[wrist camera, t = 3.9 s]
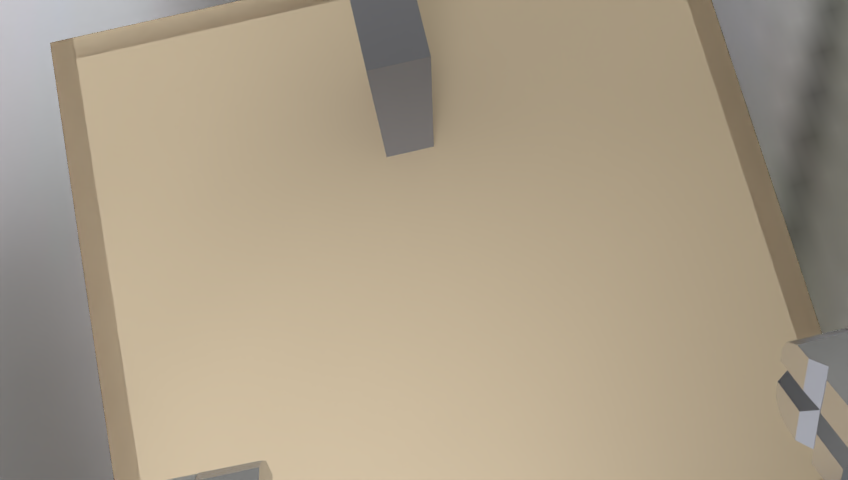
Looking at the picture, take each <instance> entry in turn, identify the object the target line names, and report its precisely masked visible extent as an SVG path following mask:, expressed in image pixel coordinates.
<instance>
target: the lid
mask: <svg viewBox="0 0 848 480" xmlns="http://www.w3.org/2000/svg"><path fill="white" fill-rule="evenodd" d="M50 45H51V52H52V59H53V66H54V73H55V79H56V86H57V93H58V100H59V107H60V114H61V120H62V127H63V134H64V141H65V148H66V155H67V162H68V168H69V175H70V182H71V189H72V196H73V203H74V209H75V216H76V223H77V230H78V237H79V244H80V250H81V257H82V264H83V271H84V278H85V285H86V292H87V298H88V305H89V312H90V319H91V326H92V333H93V339H94V346H95V353H96V360H97V367H98V374H99V381H100V387H101V394H102V401H103V408H104V415H105V422H106V428H107V435H108V442H109V449H110V456H111V463H112V469H113V476H114V480H168V479H173V478H178V477H182V476H187V475H192V474H197V473H200V472H205V471H210V470H215V469H220V468H225V467H231V466H236V465H241V464H246V463H251V462H256V461H261V460H263V461H266V462H267V464H268V466H269V468H270V470H271V472H272V475H273V476H272V480H823V478H822V477H821V476H820V474H819V473H818V471H817V470H816V469H815V467H814V466H813V464H812V455H813V449H812V448H810V447H808V446H806V445H804V444H802V443H800V442H798V441H796V440H795V439H794V438H793V436H792V435H791V433H790V432H789V430H788V429H787V427H786V426H785V423H784V421H783V419H782V417H781V415H780V412H779V407H778V403H777V399H776V393H777V382H778V380H779V379H780V378H781V377H782V376H783V375H784V373H785V372H786V371H787V369H786V367H785V366H784V365H783V364H782V362H781V361H780V360H781V354H782V348H783V347H784V346H785V344H786V343H787V342H789V341H793V340H798V339H802V338H806V337H810V336H815V335H819V334H822V332H821V329H820V326H819V323H818V320H817V317H816V314H815V311H814V308H813V305H812V302H811V299H810V296H809V293H808V290H807V287H806V284H805V280H804V277H803V274H802V271H801V268H800V265H799V262H798V259H797V256H796V253H795V250H794V247H793V244H792V241H791V238H790V235H789V232H788V229H787V226H786V223H785V220H784V217H783V214H782V211H781V208H780V205H779V202H778V199H777V196H776V193H775V190H774V187H773V184H772V181H771V178H770V175H769V172H768V169H767V166H766V163H765V160H764V157H763V154H762V151H761V148H760V145H759V142H758V139H757V136H756V133H755V130H754V127H753V124H752V121H751V118H750V115H749V112H748V109H747V106H746V103H745V100H744V97H743V94H742V91H741V88H740V85H739V82H738V79H737V76H736V73H735V70H734V67H733V64H732V61H731V58H730V55H729V52H728V49H727V46H726V43H725V39H724V36H723V33H722V30H721V27H720V24H719V21H718V18H717V15H716V12H715V9H714V6H713V3H712V0H240V1H235V2H231V3H226V4H222V5H217V6H213V7H208V8H204V9H199V10H195V11H191V12H186V13H182V14H177V15H173V16H168V17H164V18H159V19H155V20H150V21H146V22H141V23H137V24H132V25H128V26H123V27H119V28H115V29H110V30H106V31H101V32H97V33H92V34H88V35H83V36H79V37H74V38H70V39H65V40H61V41H56V42H52V43H50Z"/></svg>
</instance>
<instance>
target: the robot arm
mask: <svg viewBox="0 0 848 480" xmlns="http://www.w3.org/2000/svg"><path fill="white" fill-rule="evenodd" d="M780 361H781V362H782V364H783V365H784V366H785V367H786V369H787V371H786V372H785V373H784V375H783V376H782V377H781V378H780V379H779V380H778V382H777V393H776V399H777V403H778V407H779V412H780V415H781V417H782V419H783V421H784V423H785V426H786V427H787V429H788V430H789V432H790V433H791V435H792V436H793V438H794V439H795V440H796V441H798V442H800V443H802V444H804V445H806V446H808V447H810V448H812V449H813V455H812V464H813V466H814V467H815V469H816V470H817V471H818V473H819V474H820V476H821V477H822V478H823V480H848V328H844V329H840V330H836V331H832V332H827V333H823V334H819V335H815V336H810V337H806V338H802V339H798V340H793V341H789V342H787V343H786V344H785V346H784V347H783V348H782V354H781V360H780ZM272 476H273V475H272V472H271V470H270V468H269V466H268V464H267V462H266V461H263V460H261V461H256V462H251V463H246V464H241V465H236V466H231V467H225V468H220V469H215V470H210V471H205V472H200V473H197V474H192V475H187V476H182V477H178V478H173V479H168V480H272Z"/></svg>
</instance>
